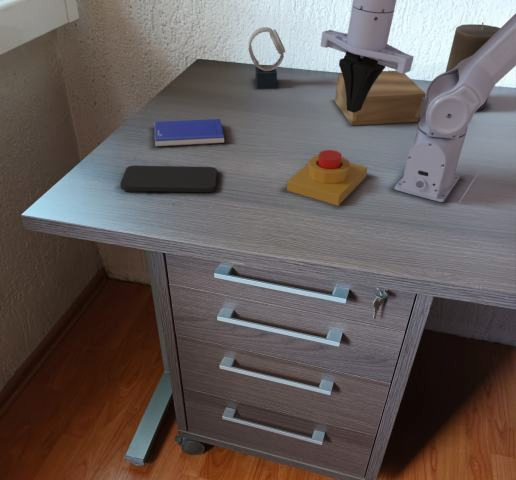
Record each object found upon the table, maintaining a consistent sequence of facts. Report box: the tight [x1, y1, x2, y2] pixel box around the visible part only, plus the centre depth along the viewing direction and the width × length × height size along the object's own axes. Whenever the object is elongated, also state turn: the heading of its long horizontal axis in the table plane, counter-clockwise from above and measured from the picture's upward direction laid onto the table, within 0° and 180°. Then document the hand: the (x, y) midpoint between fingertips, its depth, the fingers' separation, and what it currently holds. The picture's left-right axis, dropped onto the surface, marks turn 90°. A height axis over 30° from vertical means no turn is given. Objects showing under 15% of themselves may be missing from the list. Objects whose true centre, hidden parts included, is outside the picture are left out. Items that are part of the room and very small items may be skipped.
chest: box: [334, 77, 424, 126], centre depth 106 cm, size 13×14×5 cm
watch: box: [247, 26, 286, 89], centre depth 114 cm, size 6×8×11 cm
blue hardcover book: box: [154, 118, 225, 147], centre depth 97 cm, size 2×8×12 cm
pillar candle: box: [445, 22, 501, 112], centre depth 106 cm, size 10×10×15 cm
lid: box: [337, 70, 427, 101], centre depth 103 cm, size 13×14×1 cm
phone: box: [120, 165, 218, 193], centre depth 85 cm, size 7×1×15 cm
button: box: [318, 149, 343, 169], centre depth 83 cm, size 4×4×2 cm
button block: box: [286, 154, 368, 206], centre depth 84 cm, size 11×9×4 cm
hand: (353, 109), depth 81 cm, fingers closed
